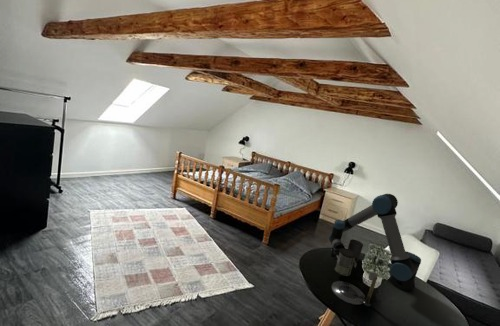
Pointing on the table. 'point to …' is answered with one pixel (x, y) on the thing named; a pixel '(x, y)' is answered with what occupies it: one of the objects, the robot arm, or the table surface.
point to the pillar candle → (355, 247)
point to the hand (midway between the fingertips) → (347, 264)
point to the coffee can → (345, 262)
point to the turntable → (348, 292)
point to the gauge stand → (374, 278)
